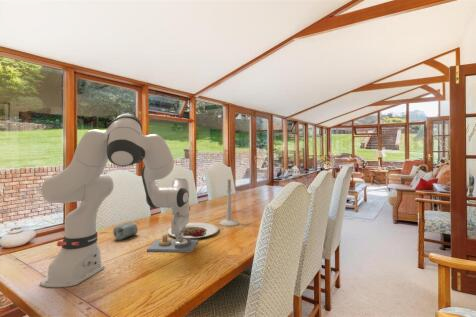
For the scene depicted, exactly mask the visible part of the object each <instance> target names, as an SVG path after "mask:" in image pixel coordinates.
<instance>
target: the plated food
mask: <svg viewBox="0 0 476 317" xmlns="http://www.w3.org/2000/svg"><path fill="white" fill-rule="evenodd" d="M218 232H219V227H218V226H217V225H215V224H213V223H207V222H188V224H187V225H186V227H185V234H184V235H183V238H189V239H190V240H195V239H201V238H205V237H209V236H213V235H214V234H217V233H218ZM167 235H169V236H171V237H173V238H176V237H175V234H172V233H171V227H169V228H168V230H167Z"/></svg>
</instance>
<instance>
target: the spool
mask: <svg viewBox="0 0 476 317" xmlns="http://www.w3.org/2000/svg"><path fill="white" fill-rule="evenodd" d="M112 232H113V236H114V238H115V239H116V240H118V241H123V239H126V238H130V237H131V236H135V235H137V233H138V225H137V224H136V222H134V221H127V222H123V223H121V224H118V225H116V226H115V227H114V228H113V231H112Z"/></svg>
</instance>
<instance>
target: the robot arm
mask: <svg viewBox="0 0 476 317" xmlns="http://www.w3.org/2000/svg"><path fill="white" fill-rule="evenodd" d="M142 132H143V126H142V122H141V121H140V119H139V118H138V117H137V116H136V115H134V114H131V113H122V114H120V115H118V116H117V117H115V118H114V119H113V120H111V121H110V122H108V123H107V124H106V129H105V130H101V129H89V130H87V131H86V132H85V133H84V134H83V135H82V137H81V138H80V140H79V142H78V144H77V147H76V149H75V151H74V154H73V157H72V159H71V161H70V163H69V164H68V166H67V167H66V168H64V169H63V170H62V171H60V172H58V173H57V174H55V175H53V176H49V177H47V178H46V179H45V180H44V181H43V183H42V184H41V187H40V193H41V197H42V198H43V200H44V201H45V202H47V203H49V204H66V203H74V202H75V203H76V202H80V203H79V205H78V206H77V207H76V208H75V209H73V210H72V211H70V212H68V214H67V215H66V216H65V218H64V236H63V239H62V240H58V241H57V242H56V246H57V247H61V249H60V250H59V251H58V252H57V254H56V255H55V257H53V258H54V259H53V260H52V261H51V262H50V263H49V266H48V270H47V275H46V276H45V277H44V278H43V279H41V280H40V281H39V285H40V286H42V287H45V288H46V287H47V288H66V287H72V286H73V287H74V286H76V285H78V284H80V283H82V282H83V281H85V280H87V279H88V278H90V277H92V276H94V275H96V274H97V273H98V272H101V271H102V270H103V269H105V265H104V264H103V263H102V254H101V248H100V247H99V244H98V243H97V242H98V237H99V236H98V231H97V217H98V212H99V208H100V206H101V205H102V203H103V202H104V201H105V200H106V199H107V198H108V197H109V196H110V195H111V194H112V193H113V190H114V180H113V179H112V177H111V176H110V175H109V174H106V173H103V172H104V170H105V167H106V165H107V163H108V161H109V162H110V163H111V164H112V165H115V166H119V167H127V166H128V167H129V166H133V165H135V164H139V163H141V162H143V164H144V165H143V167H142V169H141V179H142V184H143V188H144V192H145V200H146V204H147V205H148V206H149V207H150V208H151V209H159V208H160V209H161V208H163V209H164V208H165V209H167V208H168V209H170V211H171V212H170V213H171V215H172V216H173V217H172V219H171V225H170V226H171V227H170V228H171V233H172V234H175V237H174V238H175V240H176V241H179V240H180V235H179V234H180V232H183V235H184V234H185V227H186V225H187V224H188V223H189V220H190V211H191V207H190V202H189V199H190V189H189V188H190V186H189V182H188V179H185V178H173V179H172V181H171V186H170V187H169V186H167V187H166V186H158V185H156V181H157V180H163V179H165V178H166V177H168V176H169V175H170V174H171V173H172V171H174V167H175V164H174V163H175V162H174V158H173V155H172V152H171V150H170V148H169V146H168V144H167V142H166V140H165V139H164V138H163V137H162V136H161V135H160V134H156V133H150V134H147V135H146V134H143V133H142Z"/></svg>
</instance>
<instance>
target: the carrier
mask: <svg viewBox="0 0 476 317" xmlns="http://www.w3.org/2000/svg"><path fill="white" fill-rule="evenodd" d="M183 239H186V240H188V242H187V243H185V244H175V246H174V244H173V242H174V240H175V239H173V238H172V239H171V238H168V233H165V234H162V236H161V238H159V239H158V238H157V239H155V241H154V242H153V243H151V245H149V246H148V248H146V252H147V253H149V252H150V253H151V252H153V253H155V252H157V253H158V252H163V253H167V252H168V253H193V251H194V250H195V248H196V246H197V245H198V242H199V239H189V238H183Z"/></svg>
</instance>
